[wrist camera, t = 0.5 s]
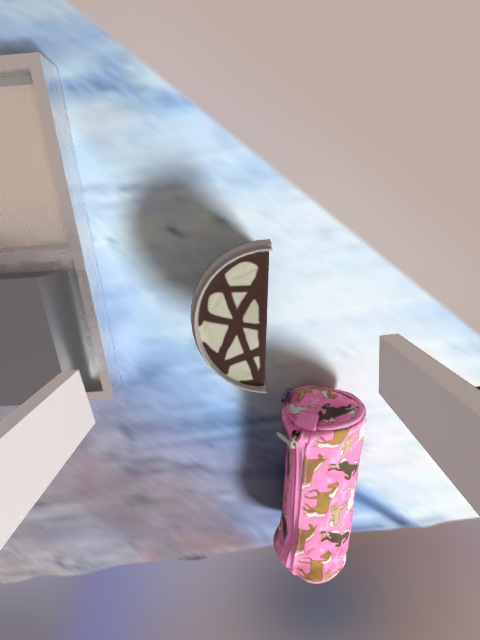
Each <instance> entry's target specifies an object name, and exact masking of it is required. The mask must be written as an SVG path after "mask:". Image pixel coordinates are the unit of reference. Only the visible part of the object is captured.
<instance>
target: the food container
mask: <svg viewBox="0 0 480 640" xmlns="http://www.w3.org/2000/svg"><path fill="white" fill-rule="evenodd" d="M271 245H272V244H271V241H270V239H268V240H257V241H253V242H249V243H245V244H242V245H240V246H237V247H235V248H233V249H231V250H229V251H228V252H226V253H225V254H223V255H221V256H220V257H219V258H218V259H217V260H216V261H214V262H213V263H212V264H211V266H210V267H209V268H208V269H207V270H206V272H205V273H204V274H203V276H202V278H201V279H200V281H199V283H198V285H197V287H196V290H195V293H194V295H193V300H192V305H191V323H192V330H193V335H194V339H195V342H196V345H197V347H198V349H199V352H200V354H201V356H202V357H203V358H204V360H205V361H206V363H207V364H208V365H209V366H210V367H211V368H212V369H213V371H214V372H215V373H217V374H218V375H219V376H220V377H222V378H223V379H224V380H226V381H227V382H229V383H231V384H233V385H234V386H236V387H239V388H242V389H244V390H248V391H252V392H258V393H267V391H266V383H265V349H266V327H267V296H268V270H269V251H271V250H272V248H271Z"/></svg>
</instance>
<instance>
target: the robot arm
mask: <svg viewBox="0 0 480 640" xmlns="http://www.w3.org/2000/svg"><path fill="white" fill-rule="evenodd" d="M379 394H380V395H381V396H382V397H383V399H384V400H385V401H386V402H387V403H388V405H389V406H390V407H391V408H392V410H393V411H394V412H395V413H396V414H397V416H398V417H399V418H400V419H401V421H402V422H403V423H404V424H405V425H406V427H407V428H408V429H409V430H410V432H411V433H412V434H413V435H414V436H415V438H416V439H417V440H418V441H419V443H420V444H421V445H422V446H423V447H424V449H425V450H426V451H427V452H428V454H429V455H430V456H431V457H432V458H433V460H434V461H435V462H436V463H437V465H438V466H439V467H440V468H441V469H442V471H443V472H444V473H445V474H446V476H447V477H448V478H449V479H450V480H451V482H452V483H453V484H454V485H455V487H456V488H457V489H458V490H459V491H460V493H461V494H462V495H463V496H464V498H465V499H466V500H467V501H468V502H469V504H470V505H471V506H472V507H473V509H474V510H475V511H476V512H477V514H478V515H479V516H480V386H479V387H474V386H473V385H471V384H470V383H469V382H467V381H466V380H464V379H463V378H461V377H460V376H458V375H457V374H456V373H454V372H453V371H451V370H450V369H448V368H447V367H445V366H444V365H443V364H441V363H440V362H438V361H437V360H435V359H434V358H432V357H431V356H430V355H428V354H427V353H425V352H424V351H422V350H421V349H419V348H418V347H417V346H415V345H414V344H412V343H411V342H409V341H408V340H406V339H405V338H404V337H402V336H401V335H399V334H391V335H382V336H380V348H379ZM94 424H95V420H94V417H93V413H92V410H91V407H90V404H89V401H88V398H87V394H86V391H85V388H84V385H83V382H82V378H81V375H80V372H79V370H71V371H63V372H61V373H60V374H58V375H57V376H56V377H55V378H53V379H52V380H51V381H50V382H48V383H47V384H46V385H45V386H44V387H42V388H41V389H40V390H39V391H37V392H36V393H35V394H34V395H32V396H31V397H30V398H29V399H27V400H26V401H25V402H24V403H23V404H21V405H20V406H19V407H18V408H16V409H15V410H14V411H13V412H11V413H10V414H9V415H8V416H6V417H5V418H4V419H3V420H2V421H0V550H1V548H2V547H3V546H4V544H5V543H6V542H7V540H8V539H9V538H10V536H11V535H12V534H13V532H14V531H15V530H16V528H17V527H18V526H19V524H20V523H21V522H22V520H23V519H24V518H25V516H26V515H27V514H28V512H29V511H30V509H31V508H32V507H33V505H34V504H35V503H36V501H37V500H38V499H39V497H40V496H41V495H42V493H43V492H44V491H45V489H46V488H47V487H48V485H49V484H50V483H51V481H52V480H53V479H54V477H55V476H56V475H57V473H58V472H59V471H60V469H61V468H62V467H63V465H64V464H65V463H66V461H67V460H68V459H69V457H70V456H71V455H72V453H73V452H74V451H75V449H76V448H77V446H78V445H79V444H80V442H81V441H82V440H83V438H84V437H85V436H86V434H87V433H88V432H89V430H90V429H91V428H92V426H93V425H94Z"/></svg>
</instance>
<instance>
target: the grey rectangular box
mask: <svg viewBox="0 0 480 640" xmlns="http://www.w3.org/2000/svg"><path fill="white" fill-rule="evenodd" d="M71 370H79V372H80V375H81V378H82V382H83V385H84V387H85V386H86V385H87V384H88V383H89V382H90V381H91V380H92V379H93V378H94V375H93V371H92V367H91V363H90V358H89V354H88V350H87V345H86V341H85V337H84V333H83V328H82V324H81V320H80V316H79V311H78V307H77V303H76V298H75V294H74V290H73V286H72V281H71V277H70V273H69V269H67V270H52V271H37V272H22V273H7V274H0V406H9V405H21V404H23V403H24V402H25V401H26V400H27V399H29V398H30V397H31V396H32V395H34V394H35V393H36V392H37V391H39V390H40V389H41V388H42V387H44V386H45V385H46V384H47V383H48V382H50V381H51V380H52V379H53V378H55V377H56V376H57V375H58V374H60V373H61V372H63V371H71Z"/></svg>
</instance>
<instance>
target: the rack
mask: <svg viewBox="0 0 480 640" xmlns="http://www.w3.org/2000/svg"><path fill="white" fill-rule="evenodd" d="M67 269H69V273H70V277H71V281H72V286H73V290H74V294H75V298H76V303H77V307H78V311H79V316H80V320H81V324H82V328H83V333H84V337H85V341H86V345H87V350H88V354H89V358H90V363H91V367H92V371H93V375H94V378H93V379H92V380H91V381H90V382H89V383H88V384H87V385H86V386H85V387H84V388H85V391H86V394H87V398H88V400H103V399H114V398H115V397H116V396H117V394H118V393H119V391H120V390H121V389H122V387H123V386H122V382H121V377H120V372H119V367H118V362H117V357H116V352H115V347H114V342H113V338H112V333H111V328H110V323H109V318H108V313H107V308H106V303H105V298H104V294H103V289H102V284H101V279H100V274H99V269H98V264H97V259H96V254H95V250H94V245H93V240H92V235H91V230H90V225H89V220H88V215H87V210H86V206H85V201H84V196H83V191H82V186H81V181H80V176H79V171H78V166H77V162H76V157H75V152H74V147H73V142H72V137H71V132H70V127H69V122H68V118H67V113H66V108H65V103H64V98H63V93H62V88H61V83H60V78H59V74H58V69H57V67H56V66H55V65H53V64H52V63H51V62H50V61H49V60H48V59H46V58H45V57H44V56H43V55H42V54H41V53H39V52H32V53H20V54H8V55H0V274H7V273H22V272H37V271H52V270H67Z"/></svg>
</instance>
